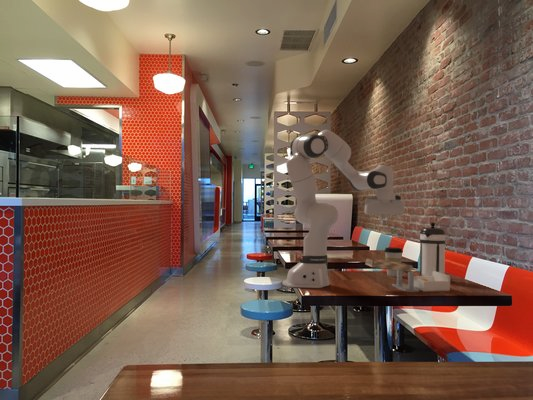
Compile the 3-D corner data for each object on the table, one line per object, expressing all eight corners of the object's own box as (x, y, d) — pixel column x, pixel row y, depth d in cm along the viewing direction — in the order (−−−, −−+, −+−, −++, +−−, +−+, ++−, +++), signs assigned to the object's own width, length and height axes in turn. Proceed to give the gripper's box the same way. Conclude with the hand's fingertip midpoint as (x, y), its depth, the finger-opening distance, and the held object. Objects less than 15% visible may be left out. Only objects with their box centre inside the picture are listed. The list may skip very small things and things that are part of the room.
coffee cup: (400, 274, 233) (400, 247, 233) (404, 277, 223) (404, 249, 223) (382, 273, 234) (382, 247, 234) (385, 276, 224) (386, 249, 224)
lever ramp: (371, 269, 187) (372, 260, 187) (358, 263, 204) (359, 256, 204) (423, 275, 191) (424, 267, 191) (406, 269, 207) (407, 262, 207)
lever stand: (406, 292, 186) (406, 272, 186) (391, 285, 201) (392, 267, 201) (419, 291, 186) (419, 272, 187) (403, 285, 201) (403, 267, 201)
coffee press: (454, 282, 210) (455, 223, 210) (422, 282, 210) (423, 222, 211) (440, 276, 227) (441, 221, 228) (411, 276, 228) (412, 221, 228)
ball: (420, 285, 192) (424, 277, 193) (416, 283, 196) (420, 276, 197) (428, 289, 193) (431, 281, 193) (423, 287, 197) (427, 280, 197)
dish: (423, 291, 188) (424, 275, 188) (409, 285, 201) (409, 271, 201) (449, 291, 189) (450, 275, 189) (433, 285, 203) (434, 270, 203)
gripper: (367, 196, 209) (366, 223, 209) (405, 197, 212) (405, 224, 212) (362, 196, 215) (362, 223, 215) (400, 197, 218) (399, 223, 218)
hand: (383, 223), depth 213 cm, fingers closed
